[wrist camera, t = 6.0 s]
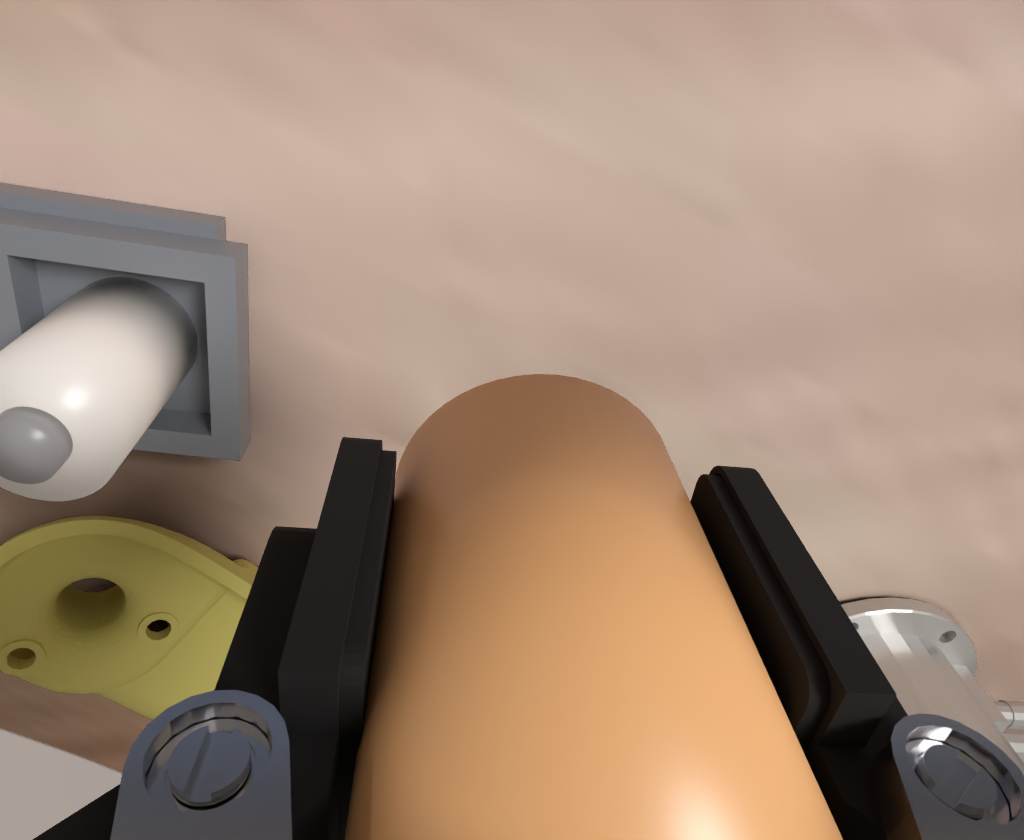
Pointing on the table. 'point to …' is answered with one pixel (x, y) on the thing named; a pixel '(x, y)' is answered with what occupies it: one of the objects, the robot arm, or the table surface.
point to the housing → (149, 257)
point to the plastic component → (118, 611)
